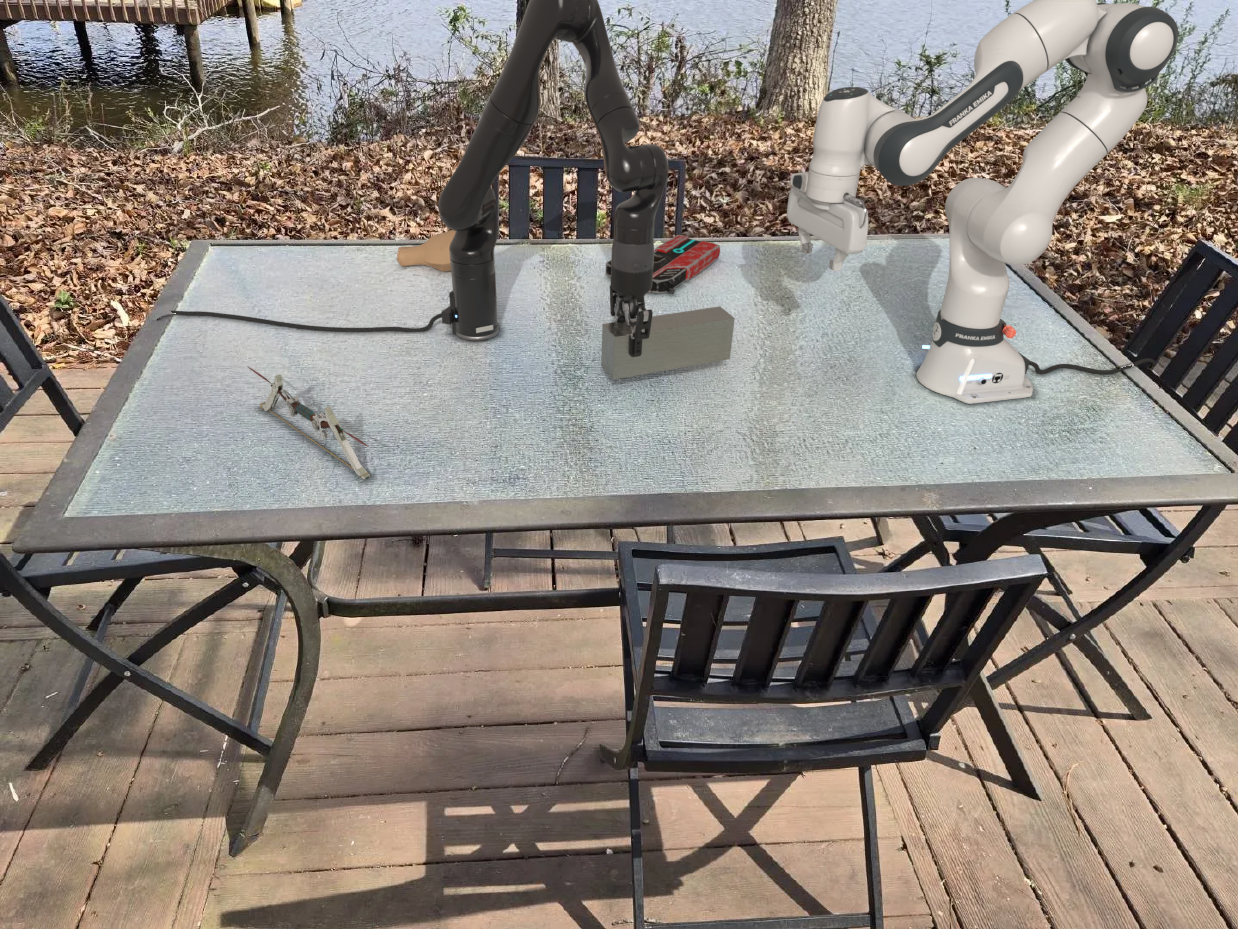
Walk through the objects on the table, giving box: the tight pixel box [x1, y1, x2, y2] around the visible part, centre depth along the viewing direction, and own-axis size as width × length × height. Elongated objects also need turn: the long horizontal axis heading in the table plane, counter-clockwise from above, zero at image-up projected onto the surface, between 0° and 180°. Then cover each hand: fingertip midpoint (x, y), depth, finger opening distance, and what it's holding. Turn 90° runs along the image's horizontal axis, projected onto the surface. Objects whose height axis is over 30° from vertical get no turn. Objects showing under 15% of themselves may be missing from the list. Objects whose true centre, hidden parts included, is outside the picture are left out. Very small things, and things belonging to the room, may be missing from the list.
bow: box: [247, 365, 371, 480], centre depth 151 cm, size 39×2×10 cm, turn 47°
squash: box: [396, 229, 456, 273], centre depth 222 cm, size 11×20×9 cm, turn 90°
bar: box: [600, 305, 736, 380], centre depth 167 cm, size 25×6×9 cm, turn 114°
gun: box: [605, 234, 721, 295], centre depth 225 cm, size 4×31×19 cm
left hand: (628, 348), depth 164 cm, fingers closed on bar, 6 cm apart
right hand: (820, 261), depth 163 cm, fingers open, 8 cm apart
